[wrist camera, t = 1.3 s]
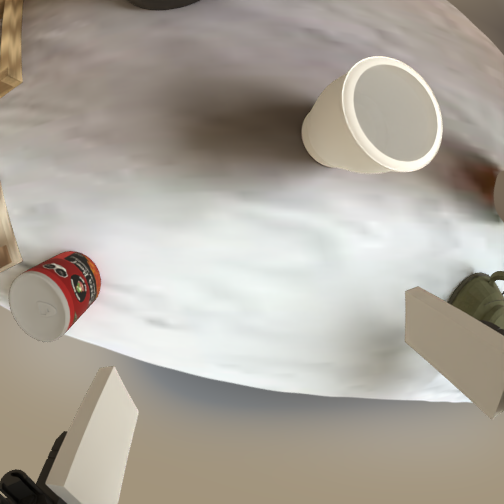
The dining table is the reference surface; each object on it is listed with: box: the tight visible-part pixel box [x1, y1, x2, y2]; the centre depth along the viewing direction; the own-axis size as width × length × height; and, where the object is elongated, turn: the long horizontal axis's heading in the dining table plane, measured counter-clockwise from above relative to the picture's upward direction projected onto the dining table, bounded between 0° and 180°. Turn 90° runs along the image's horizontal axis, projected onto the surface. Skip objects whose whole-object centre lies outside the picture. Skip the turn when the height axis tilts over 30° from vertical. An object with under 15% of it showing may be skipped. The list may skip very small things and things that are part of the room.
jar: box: [302, 56, 443, 174], centre depth 28 cm, size 11×10×15 cm
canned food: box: [9, 251, 101, 342], centre depth 29 cm, size 8×8×11 cm
